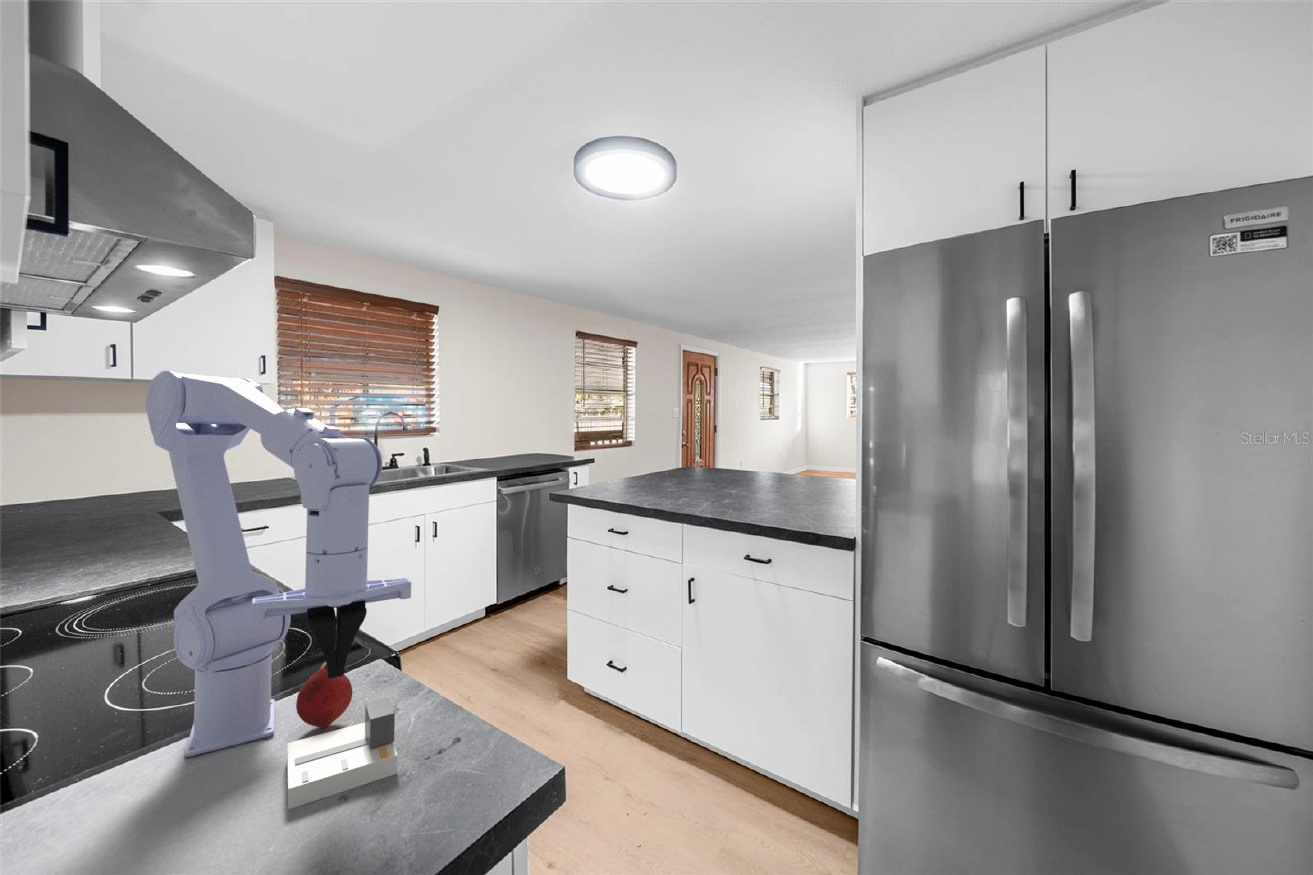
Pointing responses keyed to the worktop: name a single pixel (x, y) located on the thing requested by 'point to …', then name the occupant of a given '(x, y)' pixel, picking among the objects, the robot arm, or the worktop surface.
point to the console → (335, 764)
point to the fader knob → (379, 722)
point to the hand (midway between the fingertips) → (335, 674)
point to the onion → (323, 698)
